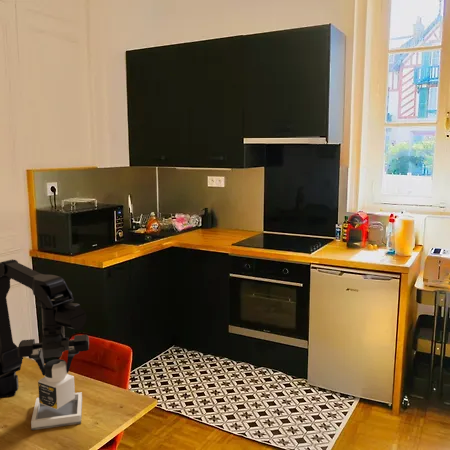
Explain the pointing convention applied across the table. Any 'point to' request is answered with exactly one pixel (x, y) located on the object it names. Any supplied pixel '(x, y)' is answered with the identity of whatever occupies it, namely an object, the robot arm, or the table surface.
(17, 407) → the table surface
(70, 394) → the medicine bottle
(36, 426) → the walled box
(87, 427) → the table surface
